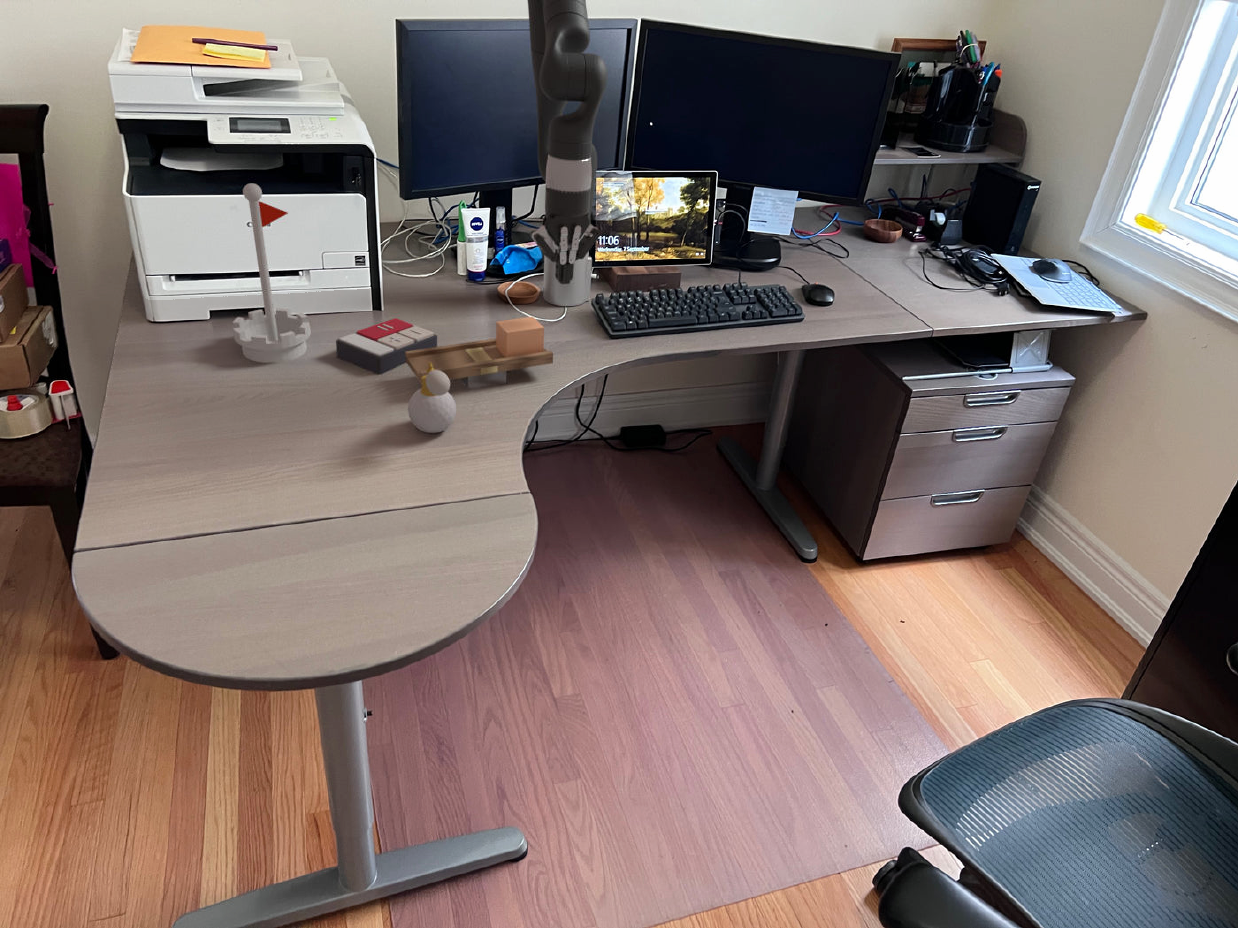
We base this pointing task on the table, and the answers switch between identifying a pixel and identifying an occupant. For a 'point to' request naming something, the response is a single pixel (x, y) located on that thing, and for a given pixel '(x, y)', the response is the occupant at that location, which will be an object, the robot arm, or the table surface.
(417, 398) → the perfume bottle
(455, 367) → the beam
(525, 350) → the block
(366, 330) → the calculator
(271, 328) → the flag stand
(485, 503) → the table surface
